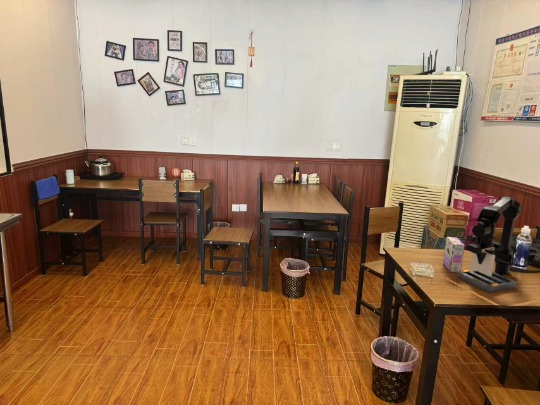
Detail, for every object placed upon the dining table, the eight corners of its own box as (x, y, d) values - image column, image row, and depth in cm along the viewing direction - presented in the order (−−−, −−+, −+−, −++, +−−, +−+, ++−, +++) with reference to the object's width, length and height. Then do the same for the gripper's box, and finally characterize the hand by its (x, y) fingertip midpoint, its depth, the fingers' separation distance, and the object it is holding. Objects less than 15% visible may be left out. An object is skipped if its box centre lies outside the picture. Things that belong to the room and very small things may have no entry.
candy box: (460, 274, 194) (465, 245, 190) (449, 273, 195) (453, 244, 191) (453, 264, 207) (457, 237, 203) (442, 263, 208) (446, 236, 204)
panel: (474, 267, 183) (477, 248, 181) (491, 275, 174) (495, 255, 172) (470, 267, 183) (473, 249, 180) (487, 275, 174) (491, 256, 171)
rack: (484, 275, 194) (485, 267, 193) (516, 289, 177) (518, 281, 176) (457, 279, 187) (458, 271, 186) (488, 295, 171) (489, 286, 170)
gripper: (486, 227, 185) (481, 255, 188) (458, 230, 178) (454, 259, 182) (507, 233, 174) (501, 264, 178) (478, 237, 168) (473, 268, 172)
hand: (482, 263), depth 178 cm, fingers closed on panel, 2 cm apart
